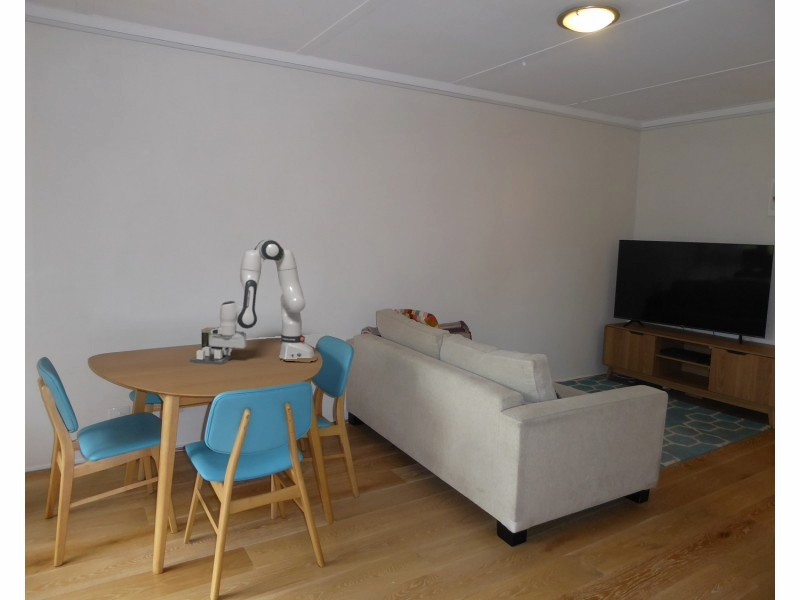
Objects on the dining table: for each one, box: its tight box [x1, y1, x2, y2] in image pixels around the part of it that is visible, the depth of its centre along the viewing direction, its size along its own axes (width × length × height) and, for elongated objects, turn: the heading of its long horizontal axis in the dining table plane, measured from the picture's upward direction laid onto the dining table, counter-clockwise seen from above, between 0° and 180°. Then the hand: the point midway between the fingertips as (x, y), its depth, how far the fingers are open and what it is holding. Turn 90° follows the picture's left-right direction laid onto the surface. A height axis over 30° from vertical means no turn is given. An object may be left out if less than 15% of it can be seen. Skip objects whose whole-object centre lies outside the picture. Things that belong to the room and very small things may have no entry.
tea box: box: [200, 326, 233, 356], centre depth 325 cm, size 15×10×15 cm
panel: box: [189, 354, 232, 365], centre depth 307 cm, size 18×14×2 cm
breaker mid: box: [213, 349, 223, 359], centre depth 306 cm, size 4×3×4 cm
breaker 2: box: [203, 347, 212, 356], centre depth 311 cm, size 4×3×4 cm
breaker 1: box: [196, 349, 205, 360], centre depth 302 cm, size 4×3×4 cm
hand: (227, 355), depth 306 cm, fingers closed
